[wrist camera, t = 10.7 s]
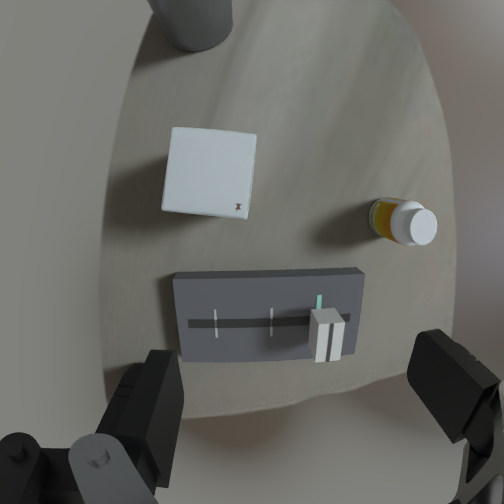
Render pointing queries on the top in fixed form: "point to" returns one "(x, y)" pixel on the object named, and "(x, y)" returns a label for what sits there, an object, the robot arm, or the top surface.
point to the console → (261, 312)
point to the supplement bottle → (403, 221)
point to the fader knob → (325, 334)
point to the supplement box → (209, 172)
